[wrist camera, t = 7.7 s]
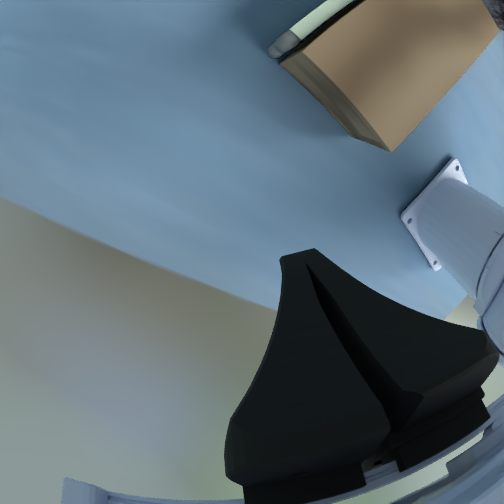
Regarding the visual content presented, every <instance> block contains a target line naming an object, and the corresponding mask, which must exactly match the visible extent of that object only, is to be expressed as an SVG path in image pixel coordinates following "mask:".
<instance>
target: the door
mask: <svg viewBox="0 0 504 504" xmlns="http://www.w3.org/2000/svg"><path fill="white" fill-rule="evenodd" d="M352 1H353V0H327V1H326V2H324V3H323V4H322V5H320V6H319V7H317V8H316V9H315V10H313V11H312V12H311V13H309V14H308V15H307V16H305V17H304V18H303V19H302V20H300V21H299V22H298V23H297V24H295V25H294V26H293V27H292V28H290V29H289V30H288V31H287V32H284V33H283V34H282V35H281V36H280V37H279V38H278V39H277V40H276V41H275V42H274V43H273V44H272V45H271V46H270V47H269V48H268V49H267V54H268V56H269V57H271V58H278V57H280V56H281V55H283V54H284V53H286V52H287V51H289V50H291V49H292V48H294V47H295V46H297V45H298V43H299V41H301V40H302V39H303V38H305V37H306V36H307V35H308V34H310V33H311V32H312V31H313V30H314V29H316V28H317V27H318V26H320V25H321V24H322V23H323V22H325V21H326V20H327V19H329V18H330V17H331V16H333V15H334V14H335V13H337V12H338V11H339V10H341V9H342V8H343V7H345V6H346V5H348V4H349V3H351V2H352Z"/></svg>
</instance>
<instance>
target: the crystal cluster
mask: <svg viewBox="0 0 504 504" xmlns="http://www.w3.org/2000/svg"><path fill="white" fill-rule="evenodd" d="M482 2H483V3H484V5H485V6H486V8H487V9H488V11H489V13H490V14H491V16H492V18H493V20H494V21H495V23H496V25H497V26H498V27H500V29H502V30H504V0H482Z"/></svg>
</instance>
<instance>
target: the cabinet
mask: <svg viewBox="0 0 504 504" xmlns="http://www.w3.org/2000/svg"><path fill="white" fill-rule="evenodd" d="M499 32H500V30H499V29H498V27H497V25H496V23H495V21H494V20H493V18H492V16H491V14H490V13H489V11H488V9H487V8H486V6H485V5H484V3H483V2H482V0H356V1H355V2H353V3H352V4H351V5H349V6H348V7H346V8H345V9H344V10H342V11H341V12H340V13H338V14H337V15H336V16H335V17H333V18H332V19H331V20H329V21H328V22H327V23H326V24H324V25H323V26H322V27H321V28H320V29H318V30H317V31H316V32H315V33H313V34H312V35H311V36H310V37H309V38H308V39H306V40H305V41H304V42H303V43H302V44H301V45H300V46H298V47H297V48H296V49H295V50H294V51H293V52H292V53H291V54H290V55H288V56H287V57H286V58H285V59H284V60H283V61H282V62H281V63H280V65H281V66H282V67H283V68H284V69H285V70H286V71H288V72H289V73H290V74H291V75H292V76H293V77H294V78H295V79H296V80H297V81H298V82H300V83H301V84H302V85H303V86H304V87H305V88H306V89H307V90H308V91H309V92H310V93H311V94H312V95H313V96H314V97H315V98H316V99H317V100H318V101H319V102H320V103H321V104H322V105H323V106H324V107H325V108H326V109H327V110H328V111H329V112H330V113H331V114H332V115H333V117H334V118H335V119H336V120H337V121H338V122H339V123H340V124H341V125H342V126H343V128H344V129H345V130H346V131H347V132H348V133H349V134H350V135H351V137H354V138H357V139H359V140H362V141H364V142H367V143H369V144H372V145H374V146H377V147H379V148H382V149H384V150H386V151H389V152H391V153H392V152H393V151H394V150H395V149H396V148H397V147H398V146H399V145H400V143H401V142H402V141H403V140H404V139H405V138H406V137H407V136H408V135H409V134H410V133H411V132H412V131H413V130H414V129H415V127H416V126H417V125H418V124H419V123H420V122H421V121H422V120H423V119H424V118H425V117H426V116H427V114H428V113H429V112H430V111H431V110H432V109H433V108H434V107H435V106H436V105H437V104H438V102H439V101H440V100H441V99H442V98H443V97H444V96H445V95H446V94H447V92H448V91H449V90H450V89H451V88H452V87H453V86H454V85H455V83H456V82H457V81H458V80H459V79H460V78H461V77H462V75H463V74H464V73H465V72H466V71H467V70H468V69H469V67H470V66H471V65H472V64H473V63H474V62H475V60H476V59H477V58H478V57H479V56H480V55H481V53H482V52H483V51H484V50H485V49H486V47H487V46H488V45H489V44H490V43H491V41H492V40H493V39H494V38H495V37H496V35H497V34H498V33H499Z"/></svg>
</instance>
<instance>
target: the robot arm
mask: <svg viewBox="0 0 504 504" xmlns="http://www.w3.org/2000/svg"><path fill="white" fill-rule="evenodd" d="M455 168H456V169H455ZM409 218H410V219H409ZM408 219H409V221H408ZM401 220H402V221H403V223H404V224H405V226H406V227H407V229H408V230H409V232H410V233H411V235H412V236H413V238H414V239H415V241H416V242H417V244H418V245H419V247H420V248H421V250H422V252H423V253H424V255H425V257H426V258H427V260H428V261H429V263H430V265H431V266H432V268H433V269H434V271H438V270H439V269H440V268H441V267H442V266H443V267H444V268H445V269H446V270H447V271H448V272H449V273H450V274H451V275H452V276H453V277H454V278H455V279H456V281H457V282H458V283H459V284H460V285H461V286H462V287H463V288H464V289H465V290H466V292H467V293H468V294H469V295H470V296H471V297H472V298H473V299H475V300H476V301H475V303H474V305H473V308H474V309H475V310H476V311H477V313H478V314H479V315H480V316H479V318H478V320H477V329H475V328H470V327H466V326H461V325H457V324H453V323H450V322H446V321H443V320H440V319H437V318H434V317H431V316H428V315H425V314H423V313H420V312H418V311H415V310H413V309H410V308H408V307H406V306H403V305H401V304H399V303H397V302H395V301H393V300H391V299H389V298H387V297H385V296H383V295H381V294H379V293H378V292H376V291H374V290H372V289H371V288H369V287H368V286H366V285H364V284H363V283H361V282H360V281H358V280H357V279H355V278H354V277H352V276H351V275H350V274H348V273H347V272H345V271H344V270H342V269H341V268H340V267H338V266H337V265H336V264H334V263H333V262H332V261H331V260H329V259H328V258H327V257H325V256H324V255H323V254H322V253H320V252H319V251H318V250H316V249H315V248H313V249H309V250H305V251H301V252H297V253H293V254H289V255H285V256H282V257H281V258H280V259H279V260H280V265H281V271H282V284H281V295H280V302H279V307H278V313H277V317H276V321H275V325H274V329H273V332H272V335H271V339H270V341H269V344H268V347H267V350H266V352H265V355H264V357H263V360H262V362H261V365H260V367H259V369H258V371H257V373H256V375H255V377H254V379H253V381H252V383H251V385H250V387H249V389H248V391H247V393H246V394H245V396H244V397H243V399H242V401H241V402H240V404H239V406H238V407H237V409H236V410H235V412H234V414H233V415H232V417H231V418H230V422H229V426H228V430H227V435H226V441H225V450H224V460H225V473H226V476H227V477H228V478H229V479H230V480H231V481H233V482H235V483H237V484H239V485H242V486H243V493H244V499H234V500H209V501H208V500H207V501H205V500H203V501H202V500H198V501H197V500H195V501H194V500H171V499H158V498H149V497H140V496H133V495H127V494H121V493H115V492H110V491H107V490H106V489H103V488H100V487H98V486H95V485H92V484H88V483H84V482H81V481H77V480H74V479H70V478H67V477H65V478H64V482H63V490H62V501H61V504H332V503H335V502H339V501H342V500H346V499H349V498H352V497H355V496H358V495H361V494H364V493H367V492H370V491H372V490H375V489H378V488H380V487H383V486H385V485H388V484H390V483H392V482H395V481H397V480H400V479H402V478H404V477H406V476H408V475H410V474H412V473H414V472H416V471H418V470H420V469H422V468H424V467H426V466H428V465H430V464H432V463H433V462H435V461H437V460H439V459H441V458H442V457H444V456H446V455H447V454H449V453H451V452H452V451H454V450H456V449H457V448H459V447H460V446H462V445H463V444H465V443H466V442H468V441H469V440H471V439H472V438H474V437H475V436H476V435H478V434H479V433H481V432H482V431H483V430H484V433H483V438H482V439H481V440H480V441H479V442H477V443H476V444H475V445H473V446H472V447H470V448H469V449H467V450H466V451H464V452H463V453H461V454H460V455H458V456H457V457H455V458H453V459H452V460H450V461H449V462H447V463H446V467H447V470H448V472H449V473H448V474H447V475H445V476H443V477H442V478H440V479H438V480H436V481H435V482H432V483H431V484H429V485H427V486H425V487H423V488H421V489H419V490H417V491H415V492H412V493H411V494H408V495H406V496H404V497H401V498H399V499H397V500H394V501H393V502H390V503H387V504H504V394H503V395H502V396H501V397H499V398H498V399H497V400H496V401H494V402H493V403H492V404H490V405H489V406H488V407H485V405H484V403H483V401H482V398H483V397H484V395H485V394H484V392H483V390H482V388H481V385H482V384H483V383H484V382H485V380H486V379H487V377H488V376H489V375H490V373H491V372H492V371H493V369H494V368H495V366H496V365H497V364H498V365H500V366H502V367H503V368H504V207H503V206H501V205H500V204H498V203H496V202H495V201H493V200H492V199H490V198H489V197H487V196H485V195H484V194H482V193H480V192H479V191H477V190H475V189H474V188H472V187H470V186H469V185H468V183H467V180H466V178H465V175H464V173H463V171H462V168H461V166H460V164H459V161H458V160H457V159H456V158H451V159H450V161H449V162H448V163H447V164H446V165H445V166H444V168H443V169H442V170H441V171H440V172H439V173H438V174H437V176H436V177H435V178H434V179H433V180H432V181H431V182H430V183H429V185H428V186H427V187H426V188H425V189H424V190H423V191H422V192H421V193H420V194H419V195H418V197H417V198H416V199H415V200H414V201H413V202H412V203H411V204H410V205H409V206H408V207H407V208H406V209H405V210H404V211H403V212H402V214H401ZM407 221H408V222H407Z"/></svg>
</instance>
